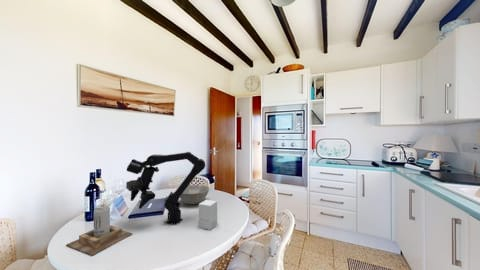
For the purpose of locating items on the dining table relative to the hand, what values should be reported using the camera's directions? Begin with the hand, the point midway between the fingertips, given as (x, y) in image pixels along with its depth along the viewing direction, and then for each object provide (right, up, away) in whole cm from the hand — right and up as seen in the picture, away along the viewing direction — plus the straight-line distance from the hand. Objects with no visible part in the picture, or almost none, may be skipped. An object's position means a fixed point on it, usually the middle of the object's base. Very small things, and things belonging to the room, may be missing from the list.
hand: (135, 204), depth 103 cm
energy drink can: (-8, -11, -15) cm, 19 cm away
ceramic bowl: (+23, -11, +33) cm, 42 cm away
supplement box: (+39, -11, -1) cm, 41 cm away
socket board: (-8, -11, -15) cm, 20 cm away
